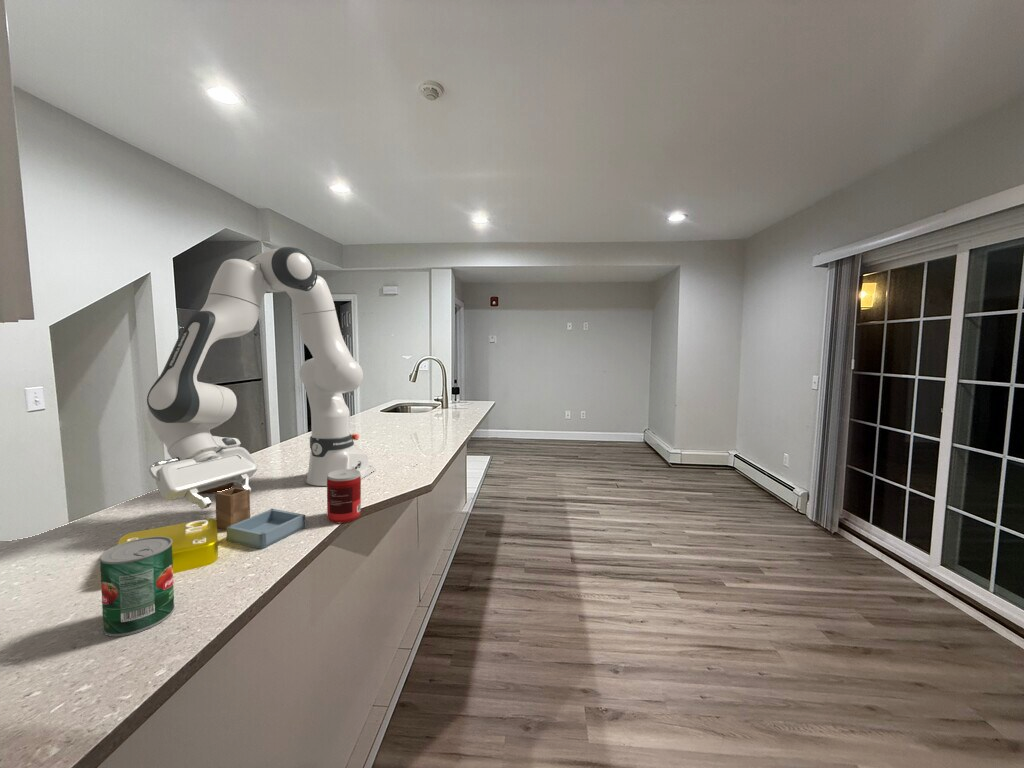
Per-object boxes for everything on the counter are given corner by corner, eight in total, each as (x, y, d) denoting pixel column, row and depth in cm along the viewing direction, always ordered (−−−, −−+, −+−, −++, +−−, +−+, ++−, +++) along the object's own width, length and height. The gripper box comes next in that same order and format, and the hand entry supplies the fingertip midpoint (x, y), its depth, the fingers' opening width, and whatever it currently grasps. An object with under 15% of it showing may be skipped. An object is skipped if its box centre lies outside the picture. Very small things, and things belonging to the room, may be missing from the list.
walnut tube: (235, 519, 95) (235, 487, 94) (250, 522, 93) (249, 489, 93) (216, 527, 90) (215, 493, 90) (231, 530, 89) (230, 496, 88)
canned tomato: (91, 626, 58) (87, 553, 57) (157, 597, 65) (155, 532, 64) (119, 644, 54) (116, 567, 54) (186, 610, 62) (183, 542, 61)
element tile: (122, 554, 78) (121, 531, 78) (216, 535, 88) (216, 514, 87) (107, 591, 67) (106, 564, 66) (218, 564, 76) (217, 540, 75)
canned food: (352, 508, 103) (352, 467, 103) (366, 517, 98) (366, 474, 97) (322, 516, 98) (321, 472, 97) (334, 526, 92) (334, 480, 92)
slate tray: (272, 520, 95) (272, 508, 94) (305, 527, 92) (305, 514, 91) (226, 540, 84) (226, 527, 84) (262, 549, 81) (262, 535, 81)
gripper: (151, 455, 83) (185, 507, 81) (244, 437, 103) (273, 478, 100) (138, 473, 85) (171, 525, 83) (232, 452, 104) (260, 493, 102)
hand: (228, 499), depth 92 cm, fingers open, 8 cm apart
